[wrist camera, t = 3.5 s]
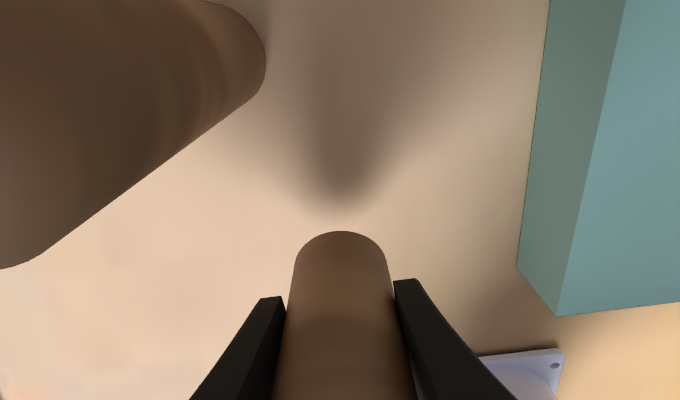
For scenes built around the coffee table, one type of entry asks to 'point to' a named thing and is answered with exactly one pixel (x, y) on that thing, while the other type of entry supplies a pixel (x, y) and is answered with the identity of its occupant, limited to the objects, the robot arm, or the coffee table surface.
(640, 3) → the block
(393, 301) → the short pin
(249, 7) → the coffee table surface
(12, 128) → the tall pin
